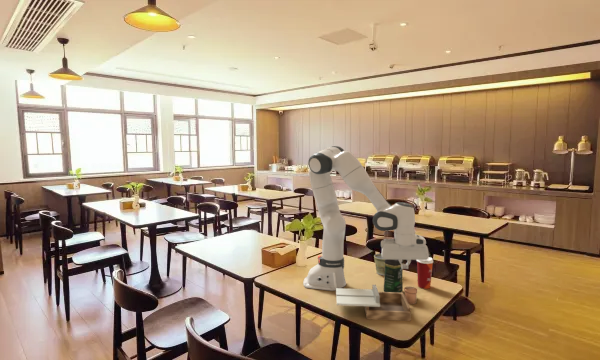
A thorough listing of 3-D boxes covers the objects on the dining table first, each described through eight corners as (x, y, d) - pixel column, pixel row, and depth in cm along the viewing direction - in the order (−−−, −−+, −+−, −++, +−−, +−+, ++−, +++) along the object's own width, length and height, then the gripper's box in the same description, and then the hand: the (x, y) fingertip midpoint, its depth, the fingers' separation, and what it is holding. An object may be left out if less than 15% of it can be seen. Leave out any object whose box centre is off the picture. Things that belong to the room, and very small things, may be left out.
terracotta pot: (405, 304, 155) (405, 291, 155) (402, 298, 161) (403, 286, 161) (418, 304, 155) (418, 292, 154) (415, 299, 161) (415, 286, 160)
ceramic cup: (371, 274, 191) (371, 257, 190) (377, 269, 200) (377, 252, 199) (394, 279, 185) (394, 261, 184) (399, 273, 193) (399, 256, 192)
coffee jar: (395, 297, 162) (396, 259, 160) (381, 292, 168) (381, 256, 166) (405, 291, 169) (406, 255, 167) (391, 286, 175) (391, 251, 173)
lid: (336, 305, 143) (336, 296, 143) (336, 289, 158) (336, 282, 158) (380, 306, 141) (380, 298, 141) (375, 291, 157) (375, 283, 156)
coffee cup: (433, 290, 170) (435, 261, 168) (416, 289, 172) (417, 260, 170) (431, 283, 178) (431, 256, 177) (414, 282, 180) (415, 255, 178)
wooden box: (366, 318, 142) (366, 307, 142) (363, 301, 158) (363, 291, 157) (410, 320, 140) (411, 309, 140) (402, 303, 156) (402, 292, 156)
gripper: (381, 240, 150) (381, 270, 151) (429, 240, 147) (429, 271, 149) (380, 236, 156) (380, 265, 157) (426, 236, 154) (426, 266, 155)
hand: (404, 268), depth 153 cm, fingers closed
